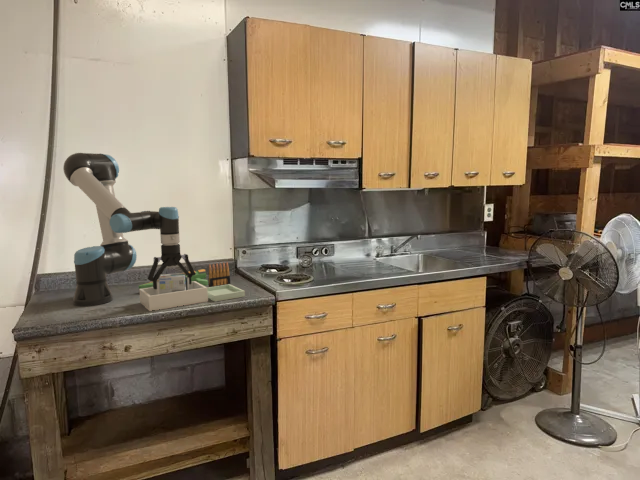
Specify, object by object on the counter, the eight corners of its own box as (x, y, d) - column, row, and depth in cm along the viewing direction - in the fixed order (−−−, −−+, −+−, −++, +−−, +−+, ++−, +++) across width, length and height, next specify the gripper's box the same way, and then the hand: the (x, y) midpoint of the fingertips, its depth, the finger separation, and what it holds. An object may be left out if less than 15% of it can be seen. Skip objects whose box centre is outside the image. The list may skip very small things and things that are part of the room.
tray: (214, 301, 190) (214, 295, 189) (200, 293, 204) (200, 288, 203) (245, 296, 198) (244, 290, 197) (229, 289, 212) (229, 284, 211)
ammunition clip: (229, 285, 220) (228, 261, 219) (230, 285, 219) (229, 261, 217) (208, 288, 214) (207, 263, 213) (209, 289, 213) (208, 264, 211)
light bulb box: (186, 296, 195) (185, 272, 194) (186, 300, 189) (184, 275, 187) (160, 298, 193) (159, 274, 191) (159, 302, 186) (157, 277, 185)
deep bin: (149, 311, 177) (148, 296, 177) (140, 302, 191) (139, 289, 190) (208, 301, 191) (207, 287, 190) (195, 293, 204) (194, 281, 203)
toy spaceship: (142, 296, 203) (141, 280, 202) (135, 291, 211) (134, 276, 210) (209, 285, 221) (208, 270, 220) (200, 281, 230) (200, 267, 229)
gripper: (142, 247, 178) (145, 300, 181) (201, 242, 191) (203, 291, 194) (138, 245, 184) (141, 296, 187) (195, 240, 197) (197, 288, 200)
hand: (173, 294), depth 190 cm, fingers closed on light bulb box, 12 cm apart
